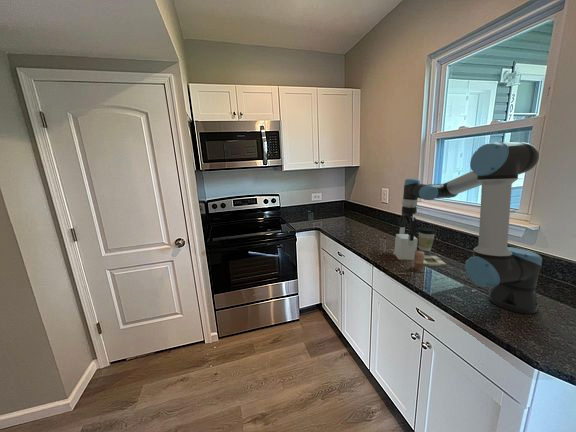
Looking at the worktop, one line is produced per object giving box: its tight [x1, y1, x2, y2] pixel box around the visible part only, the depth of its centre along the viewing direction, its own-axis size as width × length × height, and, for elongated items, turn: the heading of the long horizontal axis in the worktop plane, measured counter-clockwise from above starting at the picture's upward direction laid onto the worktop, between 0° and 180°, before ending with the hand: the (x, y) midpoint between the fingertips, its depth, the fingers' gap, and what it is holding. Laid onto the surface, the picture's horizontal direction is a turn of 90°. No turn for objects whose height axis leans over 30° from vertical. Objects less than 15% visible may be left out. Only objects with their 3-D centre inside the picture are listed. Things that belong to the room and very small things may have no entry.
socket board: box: [423, 255, 447, 267], centre depth 140 cm, size 12×12×2 cm
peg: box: [412, 249, 426, 274], centre depth 131 cm, size 4×4×11 cm
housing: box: [393, 233, 419, 261], centre depth 146 cm, size 9×9×13 cm
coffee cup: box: [417, 226, 436, 252], centre depth 157 cm, size 10×10×15 cm
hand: (405, 241), depth 146 cm, fingers open, 13 cm apart
